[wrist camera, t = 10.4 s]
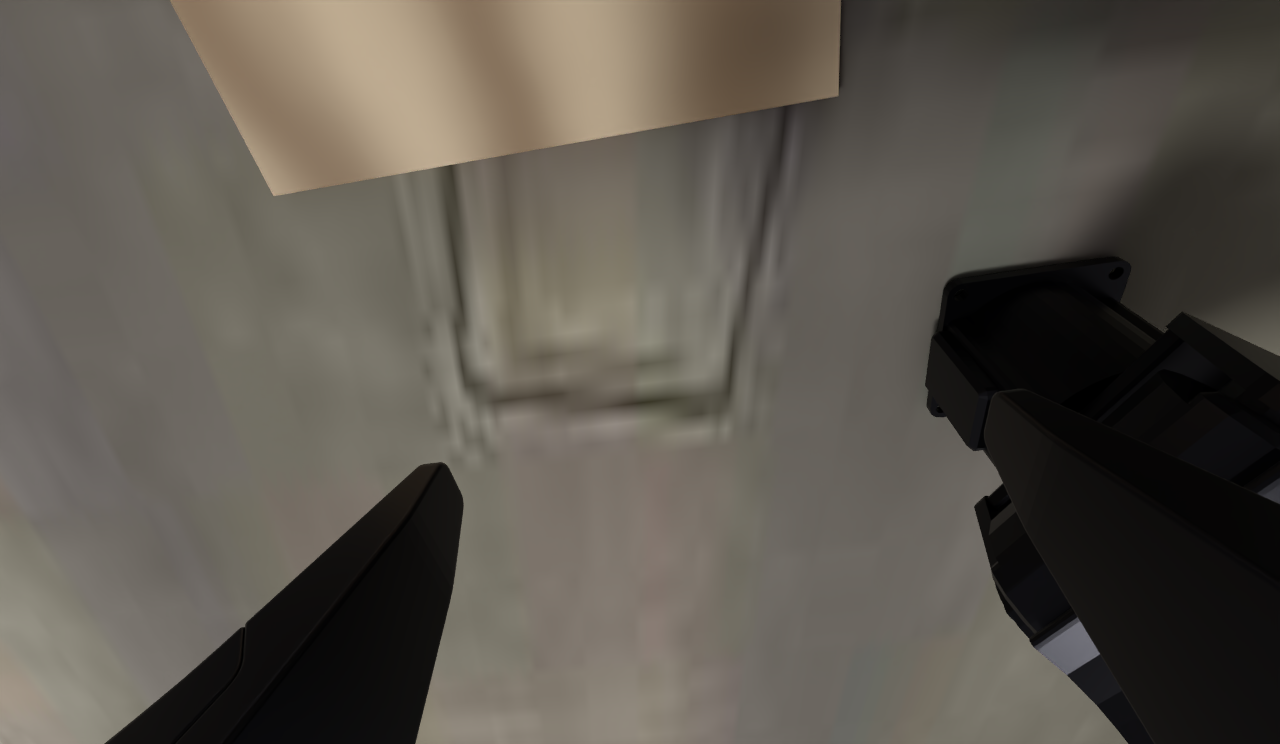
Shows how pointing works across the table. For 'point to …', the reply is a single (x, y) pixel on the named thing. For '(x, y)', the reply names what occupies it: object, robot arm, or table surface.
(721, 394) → the table surface
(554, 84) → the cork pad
